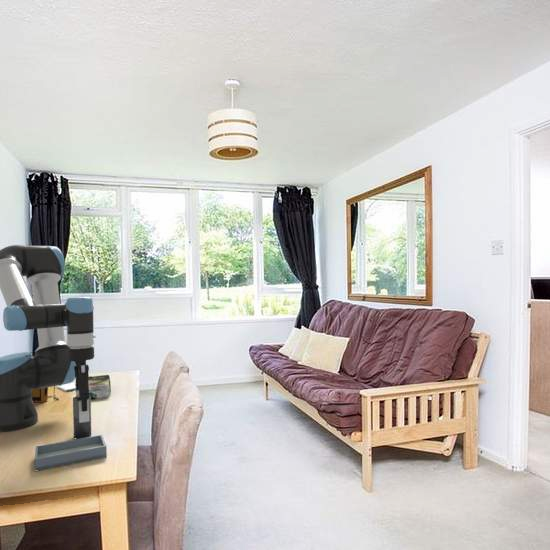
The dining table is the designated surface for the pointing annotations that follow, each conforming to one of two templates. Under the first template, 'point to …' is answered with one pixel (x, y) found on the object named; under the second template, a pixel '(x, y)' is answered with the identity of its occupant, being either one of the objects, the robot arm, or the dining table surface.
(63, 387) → the external hard drive
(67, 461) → the trough
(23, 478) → the dining table surface
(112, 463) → the dining table surface
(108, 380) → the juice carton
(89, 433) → the cell
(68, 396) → the dining table surface
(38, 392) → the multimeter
